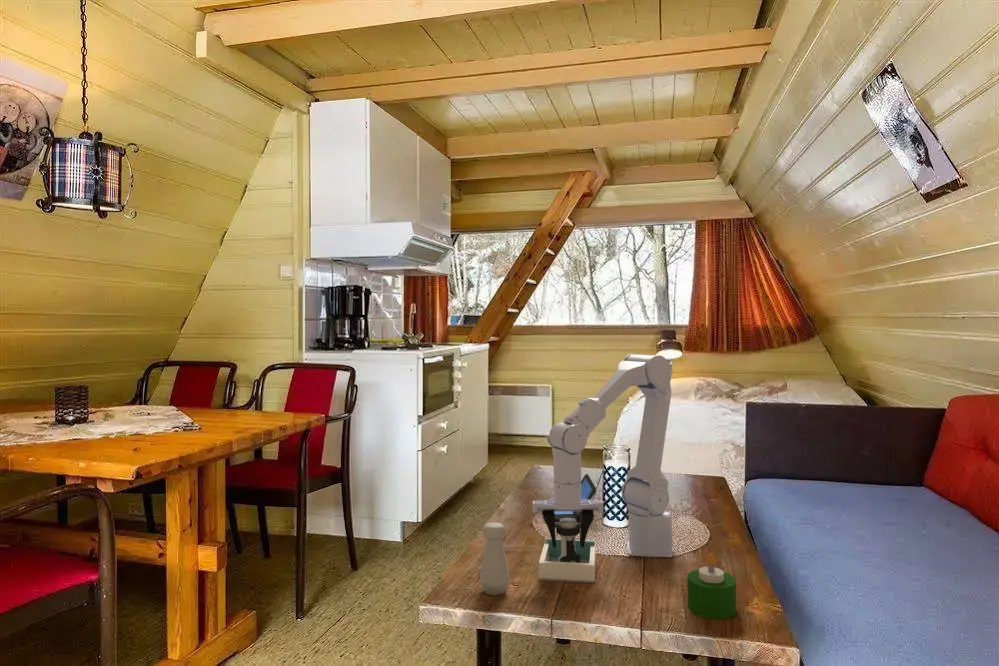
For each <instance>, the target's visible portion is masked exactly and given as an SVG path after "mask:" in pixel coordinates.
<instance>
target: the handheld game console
mask: <svg viewBox="0 0 999 666" xmlns="http://www.w3.org/2000/svg"><path fill="white" fill-rule="evenodd" d="M596 490H597V487H596V486H595V484H594V483H593V480H592V479H591V477H590V475H589V474H588V473H585V475H584V476H583V477H582V478H581V499H587V500H593V499H592V498H593V496H594V495H595V493H596ZM554 513H555V522H559V520H560V519H562V518H573V519H576V522H577V523H578V522H580V511H554Z"/></svg>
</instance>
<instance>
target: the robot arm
mask: <svg viewBox="0 0 999 666" xmlns="http://www.w3.org/2000/svg"><path fill="white" fill-rule="evenodd" d="M672 373H673V367H672V365H671V364H670V363H669V361H668V360H667V359H666V357H664V356H663V355H660V354H659V355H658V354H656V355H650V354H638V353H630V354H627V355H626V356H625V357H624V358H623V359H622V360H621V361H620V362H619V363H618V365H617V370H616V371H615V372H614V373H613V375H612V376H610V378H609V379H608V380H607V382H606V383H605V384H604V385H603V387H602V388H601V389H599V391H598V392H597V393H596V395H594V397H586V398H584V399H583V398H581V399H580V400H579V401H578V406H577V407H575V408H574V410H573V411H572V412H571V413H569V415H566V416H565V417H564V420H563V422H561V421H560V422H557V423H556V424H554V425H553V426H552V428H551V429H550V430H549V432H548V434H549V435H547V436H546V438H547V443H548V445H549V446H550V447H551V450H552V452H551V455H553V456H552V457H553V459H552V461H553V463H552V464H553V498H551V499H550V498H549V499H543V500H532V512H533V513H534V514H536V513H539V512H542V517H543V520H544V522H545V524H546V526H547V529H548V532H549V534H550V538H551V539H552V546H553V547H556V538H557V537H556V528H555V524H556V523H555V513H554V511H580V523H579V524H580V525H581V528H580V533H579V540H580V546H581V547H584V544H585V540H587V539H586V538H587V535H588V531H589V529H590V526H591V524H592V522H593V521H594V519H595V514H594V512H597V513H604V501H603V500H600V499H599V500H598V499H595V500H594V499H591V500H587V499H581V481H582V451H583V450H584V449H586V446H587V443H588V438H589V437H590V434H591V433H592V432H593V431H594V430H595V429H596V428H597V427H598V426H599V425H600V424H601V422H602V421H603V420H604V419H605V418H606V417H607V416H606V415H607V413H606V412H607V411H606V410H607V408H608V407H609V406H610V405H612V404H613V403H614V402H615V401H616V400H617V399H619V397H620V396H622V394H623V393H625V391H627V390H628V389H629V388H630V387H637V388H638V389H639V390H640V392H641V393H642V394H643V395H644V398H645V400H644V407H643V413H642V414H643V415H642V421H641V429H640V433H639V434H640V435H639V439H638V440H639V441H638V447H637V448H638V450H637V455H636V463H635V465H634V466H633V467H632V468H630V469H629V470H628V471H627V473H626V479H625V481H624V483H623V485H622V487H621V498H622V500H623V502H624V503H625V504H626V508H627V509H628V541H626V547H627V548H626V549H627V555H628V556H635V557H636V556H637V557H657V558H673V544H674V543H673V541H674V539H673V528H672V525H673V524H672V514H671V512H670V511H666V509H667V508H668V506H669V503H670V494H669V480H668V479H667V477H666V476H665V474H664V473H663V471H662V470H661V469H662V462H663V456H664V448H665V442H666V441H665V440H666V433H667V428H668V420H669V413H670V405H671V398H672V386H671V381H672Z"/></svg>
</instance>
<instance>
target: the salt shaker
mask: <svg viewBox="0 0 999 666" xmlns="http://www.w3.org/2000/svg"><path fill="white" fill-rule="evenodd" d="M482 535H483V538H485V543H484V550H483V558H482V562H481V569H480V576H479V582H480V584H481V586H482V588H483V589H484V592H485V594H487V595H491V596H497V595H503V594H505V591H506V590H507V587H508V585H509V583H510V579H511V578H510V572H509V566H508V562H507V561H508V560H507V557H506V556H507V555H506V552H505V551H506V550H505V546H504V541H503V538H504V537H505V535H506V527H505V525H504V524H503V523H500V522H487V523H486V524H484V525H483V529H482Z"/></svg>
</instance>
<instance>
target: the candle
mask: <svg viewBox="0 0 999 666" xmlns="http://www.w3.org/2000/svg"><path fill="white" fill-rule="evenodd" d="M706 563H707V566H703V567H702V566H701V567H700V568H699V569H694V570H691V571H690V572H689V573H688V574H687V577H686V578H687V581H686V582H687V583H686V584H687V588H686V589H687V608H688V610H689V611H690V612H691V613H692V614H694V615H696V616H699V617H702V618H704V619H710V620H726V619H730V618H733V617H734V616H735V615H736V614H737V580H736V578H735V577H734V576H733V575H731V574H729V573H727V572H725V571H724V570H722V569H721V568H718V567H715V565H716V557H715V555H714V554H713V553H710V552H709V554H708V555H707V557H706Z"/></svg>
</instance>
